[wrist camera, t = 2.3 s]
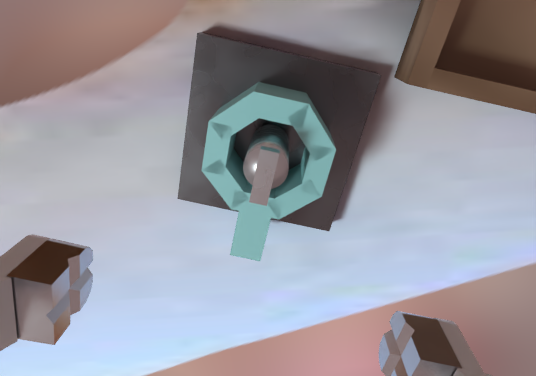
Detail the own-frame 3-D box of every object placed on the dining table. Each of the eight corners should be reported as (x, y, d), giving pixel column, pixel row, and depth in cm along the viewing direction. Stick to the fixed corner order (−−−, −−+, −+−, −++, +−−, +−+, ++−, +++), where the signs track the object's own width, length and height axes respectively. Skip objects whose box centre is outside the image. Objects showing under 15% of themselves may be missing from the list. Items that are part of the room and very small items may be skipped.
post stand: (201, 32, 20) (170, 36, 15) (377, 73, 20) (406, 90, 15) (181, 192, 24) (152, 238, 19) (327, 223, 25) (337, 277, 19)
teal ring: (224, 74, 20) (214, 82, 17) (340, 100, 20) (347, 112, 17) (201, 221, 24) (190, 246, 21) (298, 241, 24) (299, 269, 21)
